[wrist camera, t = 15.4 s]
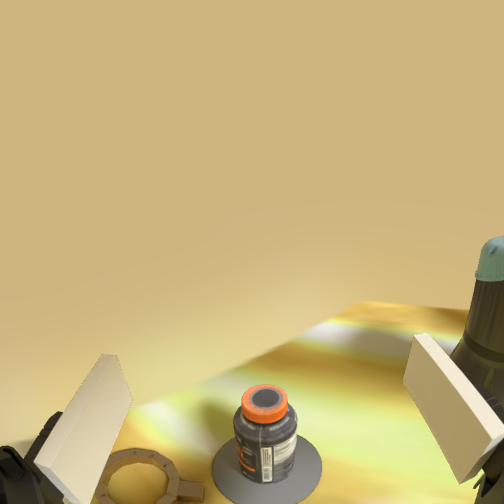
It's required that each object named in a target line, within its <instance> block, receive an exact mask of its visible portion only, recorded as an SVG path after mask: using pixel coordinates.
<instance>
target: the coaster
mask: <svg viewBox="0 0 504 504" xmlns="http://www.w3.org/2000/svg"><path fill="white" fill-rule="evenodd" d="M321 472H322V462H321V458H320V455H319V453H318V451H317V450H316V448H315V447H314V446H313V445H312V444H311V443H310V442H309V441H307V440H306V439H305V438H303V437H301V436H299V435H297V440H296V449H295V460H294V468H293V470H292V472H291V474H290V475H289V476H288V477H287V478H285V479H284V480H282V481H280V482H277V483H274V484H258V483H255V482H252V481H251V480H249V479H248V478H246V477H245V476H244V475H243V473H242V471H241V469H240V464H239V458H238V451H237V444H236V438H233V439H231V440H230V441H228V442H227V443H226V444H225V445H224V446H223V447H222V448H221V449H220V450H219V451H218V453H217V455H216V457H215V459H214V463H213V477H214V480H215V483H216V485H217V487H218V489H219V490H220V491H221V493H222V494H223V495H224V496H225V497H226V498H227V499H229V500H230V501H232V502H233V503H235V504H297V503H299V502H301V501H302V500H304V499H305V498H306V497H307V496H309V495H310V494H311V493H312V492H313V490H314V489H315V488H316V486H317V484H318V482H319V480H320V477H321Z"/></svg>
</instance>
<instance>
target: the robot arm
mask: <svg viewBox="0 0 504 504" xmlns="http://www.w3.org/2000/svg"><path fill="white" fill-rule="evenodd" d="M475 277H476V283H475V288H474V293H473V297H472V302H471V306H470V310H469V315H468V318H467V322H466V326H465V330H464V334H463V337H462V339H461V340H460V342H459V343H458V345H457V346H456V348H455V349H454V351H453V352H452V354H451V356H450V357H449V356H448V355H447V354H446V353H445V352H444V351H443V350H442V348H441V347H440V346H439V345H438V344H437V343H436V342H435V340H434V339H433V338H432V337H431V336H430V335H429V334H428V333H422V334H417V335H413V340H412V345H411V349H410V354H409V358H408V362H407V366H406V370H405V374H404V378H403V384H404V385H405V387H406V389H407V390H408V392H409V394H410V395H411V397H412V399H413V400H414V402H415V404H416V406H417V407H418V409H419V411H420V412H421V414H422V416H423V418H424V419H425V421H426V423H427V425H428V426H429V428H430V430H431V432H432V434H433V435H434V437H435V439H436V441H437V443H438V445H439V446H440V448H441V450H442V452H443V454H444V456H445V458H446V459H447V461H448V463H449V465H450V467H451V469H452V471H453V473H454V475H455V477H456V479H457V481H458V483H459V484H461V483H463V482H465V481H467V480H469V479H471V478H473V477H475V476H476V475H477V473H478V472H479V471H480V470H481V468H482V469H483V471H484V472H485V473H484V474H483V475H482V477H481V478H480V479H479V480H478V481H477V483H476V484H475V485H474V487H473V489H476V487H477V486H478V485H479V484H480V486H479V490H478V493H477V497H476V500H475V503H474V504H504V236H502V237H496V238H493V239H491V240H489V241H487V242H486V243H485V244H484V246H483V247H482V250H481V254H480V259H479V264H478V269H477V271H476V273H475ZM132 401H133V398H132V396H131V393H130V391H129V388H128V386H127V383H126V380H125V378H124V375H123V372H122V370H121V367H120V364H119V361H118V358H117V355H107V354H102V355H101V357H100V358H99V360H98V361H97V363H96V364H95V366H94V367H93V368H92V370H91V371H90V373H89V374H88V376H87V377H86V379H85V380H84V382H83V383H82V385H81V386H80V388H79V389H78V391H77V392H76V394H75V395H74V397H73V398H72V400H71V401H70V403H69V405H68V406H67V408H66V409H65V411H64V412H59V411H58V412H56V413H55V414H54V415H53V416H51V417H50V418H49V420H48V421H47V422H46V424H45V426H44V429H42V430H41V432H40V433H39V436H37V438H36V440H35V441H34V443H33V444H32V446H31V448H30V449H29V451H28V452H27V454H26V456H25V457H24V459H23V458H22V457H21V456H20V455H19V453H18V452H17V451H16V450H15V449H14V448H13V447H10V446H1V447H0V504H64V503H63V501H62V500H63V497H64V496H65V497H66V498H67V499H68V500H69V501H70V502H71V503H73V504H90V502H91V500H92V497H93V495H94V492H95V489H96V487H97V484H98V482H99V479H100V477H101V474H102V472H103V469H104V467H105V464H106V462H107V459H108V457H109V455H110V452H111V450H112V447H113V445H114V443H115V440H116V438H117V436H118V433H119V431H120V429H121V426H122V424H123V422H124V419H125V417H126V415H127V412H128V410H129V408H130V406H131V403H132Z"/></svg>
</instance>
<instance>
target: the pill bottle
mask: <svg viewBox="0 0 504 504" xmlns="http://www.w3.org/2000/svg"><path fill="white" fill-rule="evenodd" d="M233 424H234V432H235V438H236V444H237V451H238V458H239V464H240V469H241V471H242V473H243V475H244V476H245V477H246V478H248V479H249V480H251V481H252V482H255V483H258V484H274V483H277V482H280V481H282V480H284V479H285V478H287V477H288V476H289V475H290V474H291V472H292V470H293V468H294V460H295V449H296V440H297V415H296V412H295V410H294V409H293V408H292V406H291V405H289V404H288V400H287V395H286V393H285V392H284V391H283V390H282V389H281V388H279V387H277V386H274V385H257V386H254V387H252V388H250V389H248V390H247V391H246V392H245V393H244V394H243V396H242V406H241V407H239V408H238V410H237V411H236V413H235V416H234V420H233Z"/></svg>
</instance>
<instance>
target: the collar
mask: <svg viewBox="0 0 504 504" xmlns="http://www.w3.org/2000/svg"><path fill="white" fill-rule="evenodd" d="M137 462H140V463H146V464H153V465H155V466H157V467H158V468H160V469H161V470H163V471H164V472H166V473H167V475H168V477H169V483H168V488H167V492H166V494H165V495H164V496H163V497H162V498H161V499H160V500H158V501H157V502H156V503H155V504H179V502H180V500H181V501H190V502H202V503H203V496H204V485H203V483H202V482H190V481H182V480H181V478H180V476H179V474H178V472H177V470H176V468H175V466H174V464H173V462H172V461H170V460H169V459H167V458H166V457H164V456H162V455H161V454H159V453H158V452H155V451H150V450H143V449H137V448H135V449H130V450H125V451H121V452H116V453H114V454H113V455H111V456H110V457H108V459H107V462H106V464H105V467H104V469H103V472H102V474H101V477H100V479H99V482H98V484H97V487H96V489H95V495H96V498H97V499H98V501H99V502H100V503H101V504H116V503H115V502H114V501H113V500H111V499H110V497H109V493H108V490H107V485H108V482H109V480H110V477H111V475H112V474H113V473H114V472H116V471H117V470H118V469H120V468H121V467H122V466H125V465H129V464H133V463H137Z"/></svg>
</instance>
